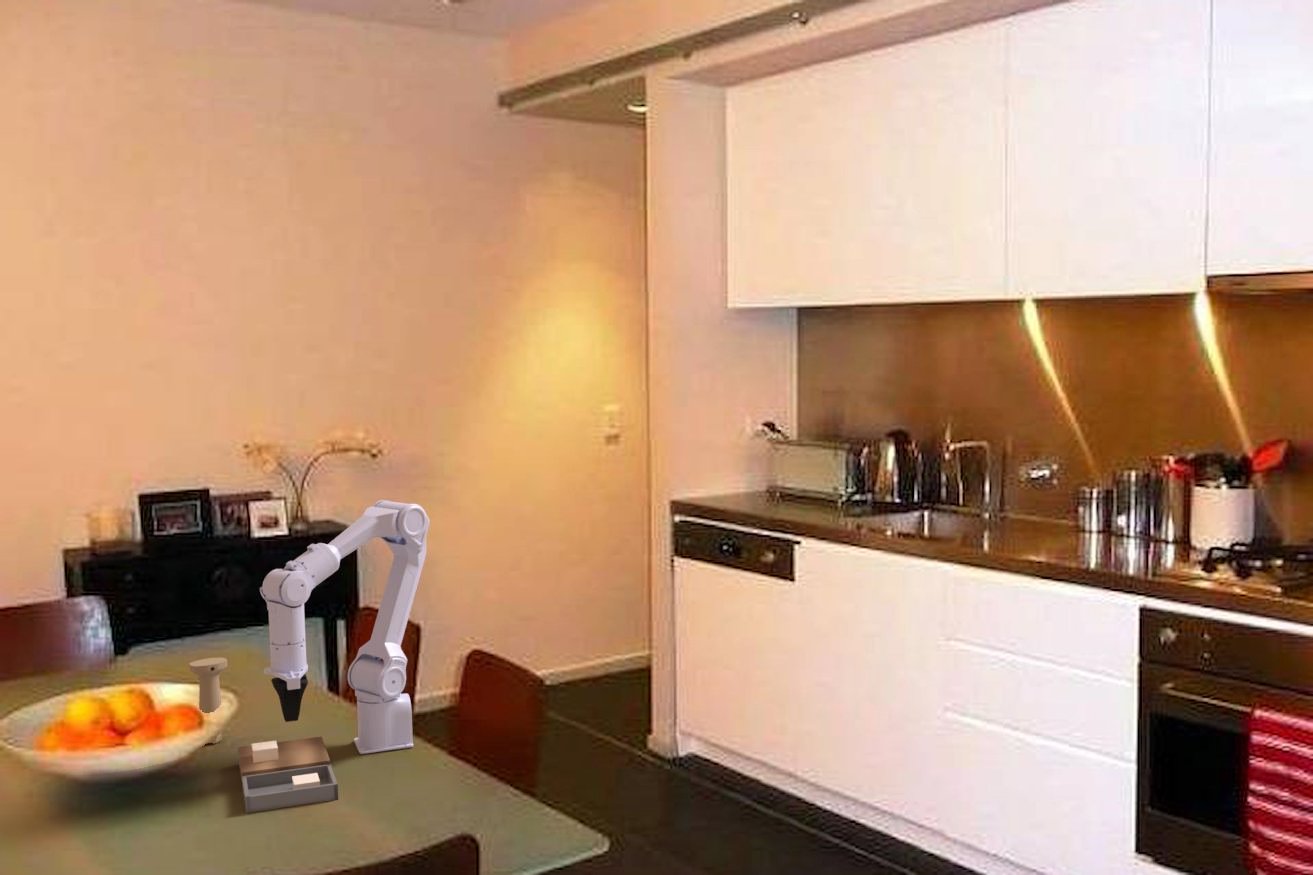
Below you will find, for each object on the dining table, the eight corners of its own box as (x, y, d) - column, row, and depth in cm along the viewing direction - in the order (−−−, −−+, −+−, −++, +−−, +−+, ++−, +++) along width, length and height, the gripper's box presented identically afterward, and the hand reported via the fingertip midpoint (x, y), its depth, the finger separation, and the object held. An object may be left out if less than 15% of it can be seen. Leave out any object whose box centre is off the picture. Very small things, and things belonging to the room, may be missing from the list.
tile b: (276, 751, 209) (276, 740, 209) (278, 759, 206) (277, 747, 206) (252, 754, 208) (251, 743, 208) (253, 762, 204) (252, 751, 204)
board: (322, 752, 217) (321, 736, 217) (330, 777, 205) (330, 760, 205) (238, 764, 212) (238, 747, 212) (242, 790, 200) (241, 772, 200)
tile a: (319, 780, 197) (320, 793, 197) (317, 772, 201) (317, 784, 201) (294, 784, 196) (294, 796, 196) (291, 776, 199) (292, 788, 199)
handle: (234, 741, 224) (230, 661, 222) (198, 749, 220) (194, 667, 219) (225, 734, 228) (221, 655, 226) (190, 742, 224) (186, 662, 222)
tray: (331, 778, 205) (330, 763, 205) (338, 799, 196) (337, 784, 196) (242, 790, 200) (242, 776, 200) (246, 812, 191) (245, 797, 191)
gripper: (259, 633, 210) (262, 710, 211) (266, 654, 197) (270, 736, 198) (301, 629, 213) (305, 705, 214) (311, 649, 199) (315, 730, 201)
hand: (291, 719), depth 206 cm, fingers closed
